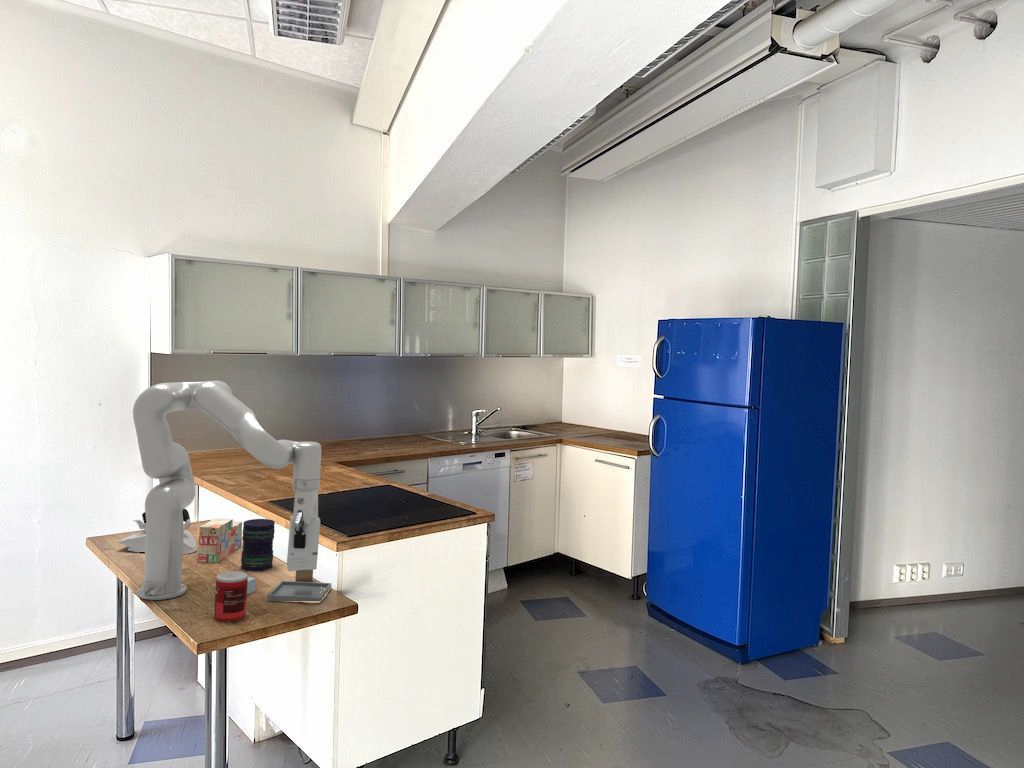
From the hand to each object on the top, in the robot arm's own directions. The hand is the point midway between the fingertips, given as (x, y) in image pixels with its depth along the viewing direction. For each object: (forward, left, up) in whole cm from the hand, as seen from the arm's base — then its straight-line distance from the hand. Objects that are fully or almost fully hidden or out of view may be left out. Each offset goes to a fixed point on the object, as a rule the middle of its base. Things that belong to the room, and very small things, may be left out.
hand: (303, 544), depth 195 cm
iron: (+38, +59, -15) cm, 72 cm away
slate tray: (0, 0, -15) cm, 15 cm away
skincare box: (0, 0, -7) cm, 7 cm away
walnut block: (+11, +2, -15) cm, 19 cm away
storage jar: (+24, +21, -15) cm, 35 cm away
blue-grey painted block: (+1, +18, -15) cm, 24 cm away
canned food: (-19, +13, -15) cm, 28 cm away
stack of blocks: (+37, +38, -15) cm, 55 cm away
